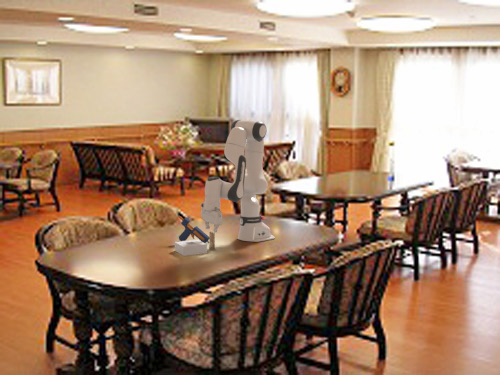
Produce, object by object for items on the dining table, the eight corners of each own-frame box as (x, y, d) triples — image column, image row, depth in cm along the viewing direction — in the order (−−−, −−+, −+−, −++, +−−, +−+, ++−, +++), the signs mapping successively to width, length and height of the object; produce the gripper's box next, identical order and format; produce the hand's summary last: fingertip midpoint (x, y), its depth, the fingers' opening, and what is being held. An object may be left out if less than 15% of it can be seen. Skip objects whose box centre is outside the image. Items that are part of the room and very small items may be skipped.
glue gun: (200, 258, 386) (212, 242, 382) (167, 230, 387) (178, 215, 384) (203, 255, 391) (214, 240, 387) (170, 228, 392) (181, 213, 388)
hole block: (197, 248, 374) (197, 239, 373) (206, 253, 364) (206, 244, 363) (174, 250, 367) (174, 242, 367) (183, 255, 357) (183, 246, 356)
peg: (213, 248, 374) (213, 231, 372) (215, 249, 371) (215, 232, 370) (208, 249, 373) (208, 231, 371) (210, 250, 370) (210, 232, 368)
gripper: (226, 208, 361) (225, 233, 362) (209, 202, 378) (208, 226, 380) (215, 209, 357) (214, 234, 359) (199, 203, 375) (198, 227, 377)
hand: (211, 230), depth 370 cm, fingers open, 8 cm apart
